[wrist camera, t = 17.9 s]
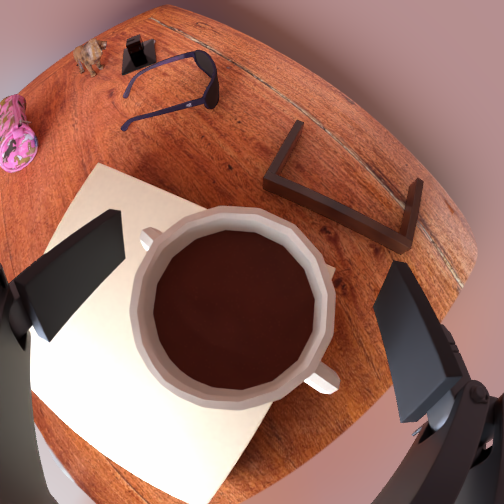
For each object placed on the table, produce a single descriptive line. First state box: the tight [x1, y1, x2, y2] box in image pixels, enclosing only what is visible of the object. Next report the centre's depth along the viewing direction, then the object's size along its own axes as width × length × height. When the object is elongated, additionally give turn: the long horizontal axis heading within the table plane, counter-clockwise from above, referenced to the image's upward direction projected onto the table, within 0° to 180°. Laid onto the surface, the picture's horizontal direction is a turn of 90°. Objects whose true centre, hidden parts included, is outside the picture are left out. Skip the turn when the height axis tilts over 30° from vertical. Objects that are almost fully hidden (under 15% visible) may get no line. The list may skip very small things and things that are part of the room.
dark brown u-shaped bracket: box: [263, 120, 424, 255], centre depth 30 cm, size 18×10×2 cm, turn 64°
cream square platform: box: [29, 163, 336, 504], centre depth 24 cm, size 27×26×6 cm
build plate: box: [122, 35, 156, 75], centre depth 38 cm, size 12×7×5 cm, turn 18°
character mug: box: [129, 206, 341, 411], centre depth 15 cm, size 11×7×13 cm, turn 51°
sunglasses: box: [121, 50, 219, 131], centre depth 33 cm, size 14×16×5 cm
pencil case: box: [0, 94, 38, 173], centre depth 32 cm, size 21×9×9 cm, turn 44°
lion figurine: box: [73, 38, 107, 77], centre depth 36 cm, size 15×5×9 cm, turn 60°
